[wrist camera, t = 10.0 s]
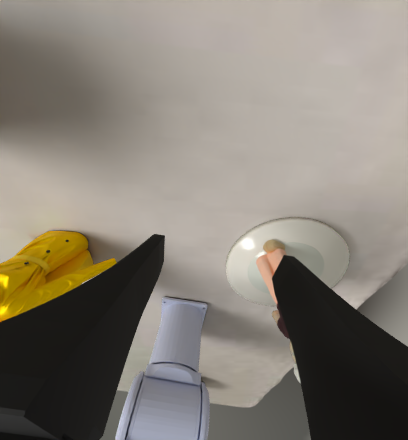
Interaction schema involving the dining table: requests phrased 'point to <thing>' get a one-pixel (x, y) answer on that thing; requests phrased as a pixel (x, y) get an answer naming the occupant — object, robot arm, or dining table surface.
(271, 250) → the grandmother figurine
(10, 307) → the yellow irregular piece
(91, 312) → the robot arm
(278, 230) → the dish
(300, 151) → the dining table surface
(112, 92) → the dining table surface
